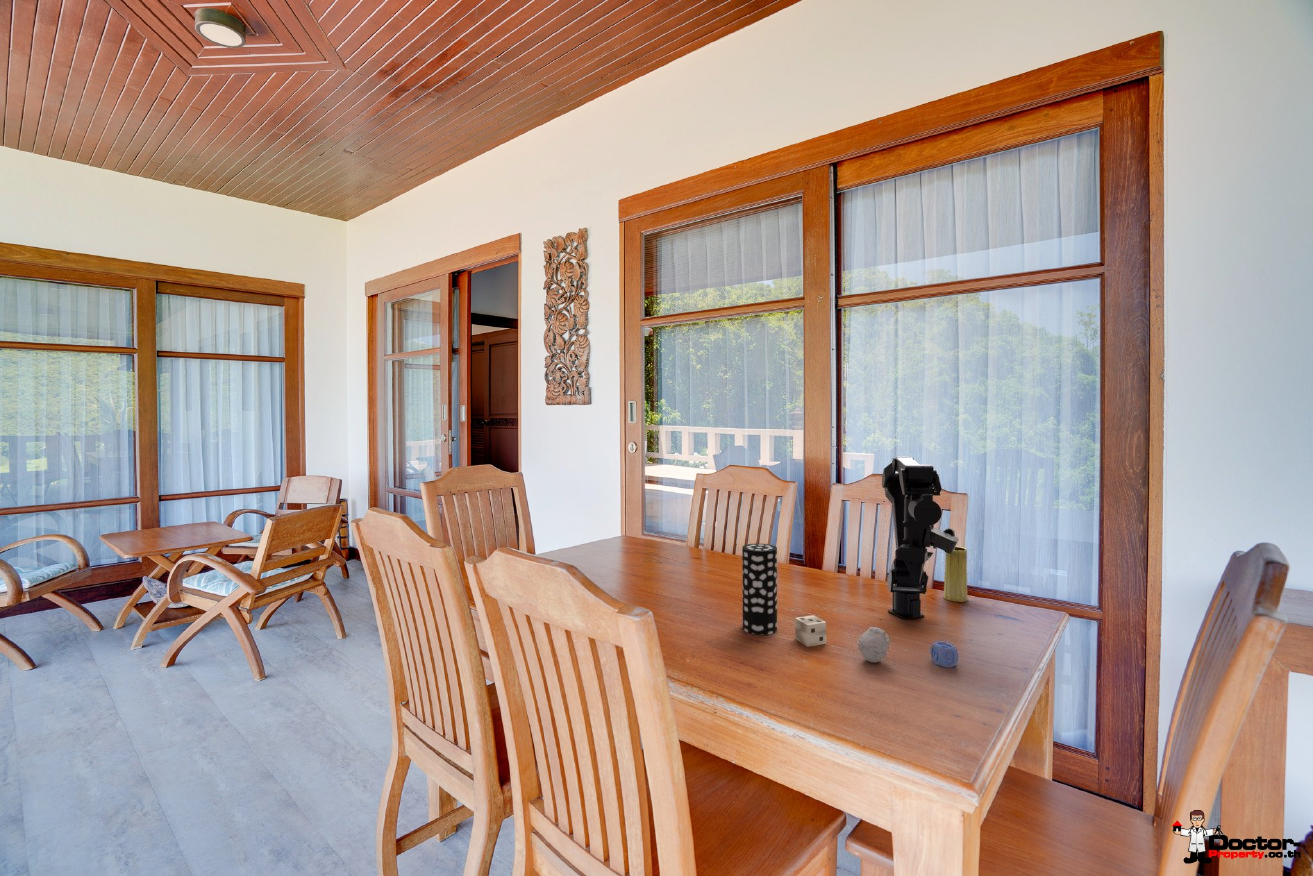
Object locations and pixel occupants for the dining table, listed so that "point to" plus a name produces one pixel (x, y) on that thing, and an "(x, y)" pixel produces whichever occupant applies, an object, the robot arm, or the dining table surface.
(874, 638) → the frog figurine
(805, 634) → the birch pip block
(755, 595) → the white-spotted black cylinder
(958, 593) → the vase
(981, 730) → the dining table surface
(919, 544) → the robot arm
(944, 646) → the decorative dice
